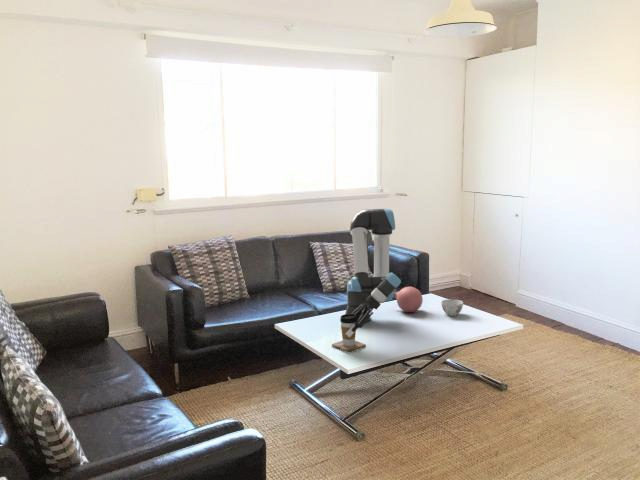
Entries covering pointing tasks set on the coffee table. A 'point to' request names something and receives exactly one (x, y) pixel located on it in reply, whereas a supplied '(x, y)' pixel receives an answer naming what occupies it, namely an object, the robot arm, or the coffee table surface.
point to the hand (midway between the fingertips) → (345, 332)
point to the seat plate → (349, 348)
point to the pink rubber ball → (409, 299)
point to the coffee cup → (346, 324)
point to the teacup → (452, 307)
